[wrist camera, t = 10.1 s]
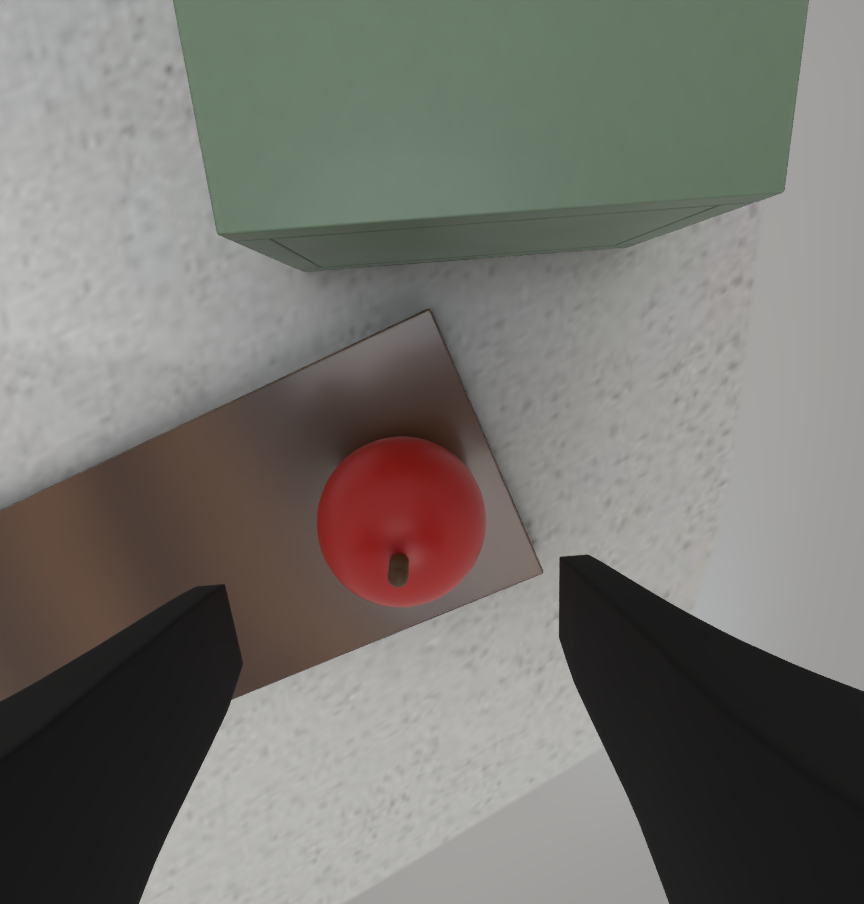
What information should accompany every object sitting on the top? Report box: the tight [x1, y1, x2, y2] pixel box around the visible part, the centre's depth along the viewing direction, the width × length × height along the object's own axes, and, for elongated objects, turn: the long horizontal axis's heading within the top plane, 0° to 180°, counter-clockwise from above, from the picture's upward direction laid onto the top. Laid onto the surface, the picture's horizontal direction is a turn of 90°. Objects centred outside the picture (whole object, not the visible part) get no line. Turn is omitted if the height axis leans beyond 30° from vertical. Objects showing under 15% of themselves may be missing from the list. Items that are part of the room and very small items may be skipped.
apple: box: [317, 436, 486, 607], centre depth 14 cm, size 5×5×6 cm
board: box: [0, 309, 543, 702], centre depth 19 cm, size 40×11×2 cm, turn 114°
